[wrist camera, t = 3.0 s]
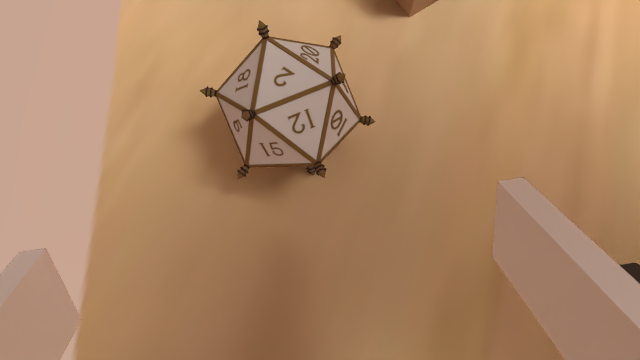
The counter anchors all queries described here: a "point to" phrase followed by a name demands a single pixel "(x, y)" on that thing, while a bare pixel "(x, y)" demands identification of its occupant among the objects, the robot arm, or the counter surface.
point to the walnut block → (414, 5)
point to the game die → (288, 104)
